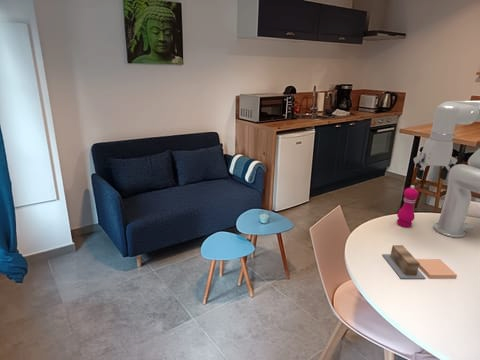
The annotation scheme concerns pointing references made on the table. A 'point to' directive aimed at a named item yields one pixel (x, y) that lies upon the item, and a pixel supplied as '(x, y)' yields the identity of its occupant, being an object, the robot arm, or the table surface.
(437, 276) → the tile
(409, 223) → the pepper mill
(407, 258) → the block
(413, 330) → the table surface
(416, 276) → the mat
